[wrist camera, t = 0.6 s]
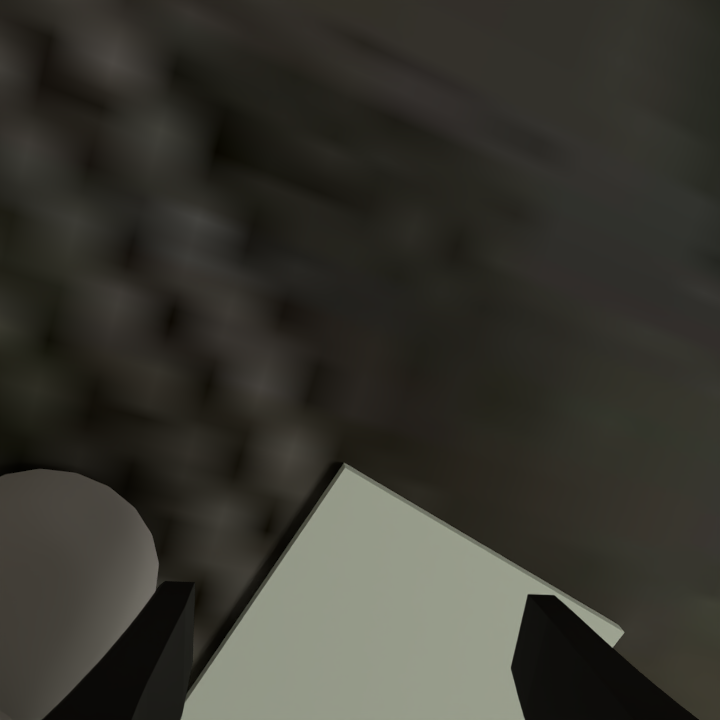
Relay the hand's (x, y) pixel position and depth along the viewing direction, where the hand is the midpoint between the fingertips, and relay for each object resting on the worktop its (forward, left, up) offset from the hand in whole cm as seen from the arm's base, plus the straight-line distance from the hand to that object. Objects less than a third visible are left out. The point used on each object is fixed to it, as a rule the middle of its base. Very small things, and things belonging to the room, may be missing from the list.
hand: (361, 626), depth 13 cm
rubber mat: (-7, -7, -10) cm, 14 cm away
